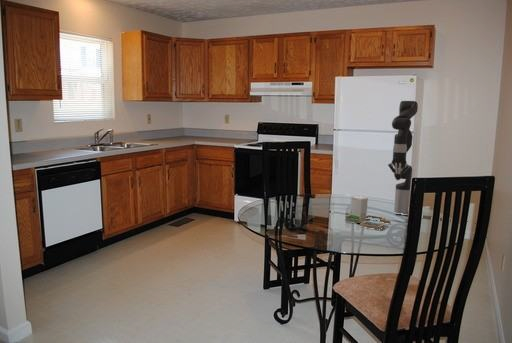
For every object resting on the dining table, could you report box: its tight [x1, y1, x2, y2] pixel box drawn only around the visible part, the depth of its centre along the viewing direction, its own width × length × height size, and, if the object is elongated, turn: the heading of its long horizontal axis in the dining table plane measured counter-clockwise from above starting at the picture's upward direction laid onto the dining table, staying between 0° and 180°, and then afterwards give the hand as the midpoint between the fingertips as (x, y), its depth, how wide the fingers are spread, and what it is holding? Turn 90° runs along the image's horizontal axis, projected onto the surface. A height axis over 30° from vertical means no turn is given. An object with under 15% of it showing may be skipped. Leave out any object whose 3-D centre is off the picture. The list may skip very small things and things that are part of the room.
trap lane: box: [345, 213, 391, 231], centre depth 251 cm, size 24×24×4 cm
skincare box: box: [349, 195, 369, 222], centre depth 253 cm, size 8×7×16 cm
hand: (398, 179), depth 248 cm, fingers closed
